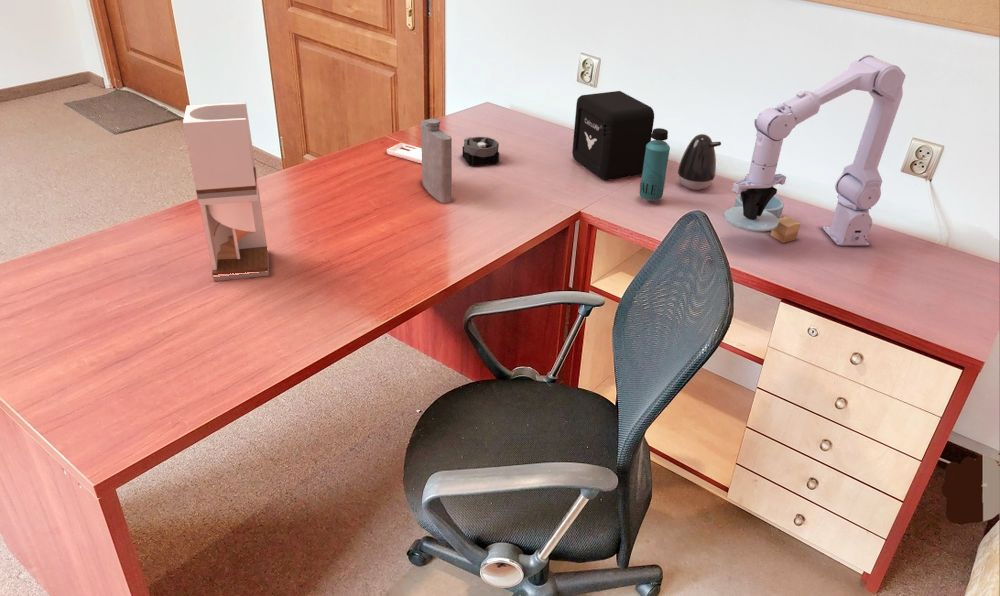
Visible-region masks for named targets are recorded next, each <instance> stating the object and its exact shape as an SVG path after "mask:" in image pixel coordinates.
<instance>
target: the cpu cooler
mask: <svg viewBox="0 0 1000 596" xmlns="http://www.w3.org/2000/svg"><path fill="white" fill-rule="evenodd" d="M499 145H500V143H499V141H497V140H496V139H494V138H491V137H488V136H473V137H472V136H469V137H467V138H464V139H463V146H462V158H463V159H464V161H465V162H466V163H467V165H468V166H472V167H477V166H478V167H479V166H480V167H481V166H487V165H489V166H490V165H497V164H499V163H500V152H499V147H500V146H499Z"/></svg>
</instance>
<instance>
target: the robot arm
mask: <svg viewBox="0 0 1000 596" xmlns="http://www.w3.org/2000/svg"><path fill="white" fill-rule="evenodd" d="M906 75H907V74H905V72H904V71H903V70H902V69H901V67H899V66H898V65H896V64H892V63H890V62H887V61H884V60H883V59H879V58H877V57H875V56H874V55H871V54H867V55H866V54H865V55H863V56H861V57H859V58H858V59H857V60H854V61H851V63H850V64H849V66H848V68H847V69H846V70H843V72H841V73H840V74H838V75H836V76H835V77H833V78H832V79H830V80H829V81H828V82H826V83H824V84H823V85H821V86H820V87H819V88H816V89H815V90H814V91H809V90H804V91H802V90H800V91H798V92H797V93H796V94H795V95H794V96H793V97H792V98H790V99H787V100H786V101H784V102H782V103H779V104H777V106H776V107H767V108H765V109H763V110H762V111H761V112H759V114H758V116H757V117H756V118H755V119H754V123H753V124H754V125H753V126H754V127H755V130H756V133H755V137H756V138H755V143H754V147H753V152H752V155H751V161H750V166H749V170H748V173H745V177H744V178H743V179H741V180H739V181H737V182H734V183H733V185H732V190H731V191H732V192H734V193H735V194H737V195H738V194H740V195H741V198H742V202H743V216H745V217H747V218H749V219H750V218H752V216H753V213H754V210H755V206H756V204H757V203H759V204H760V206H759V210H758V215H757V216H761V214H762V213H763V211H764V209H765V207H766V205H767V204H768V202H769V201H770V200H771V198H772V197H773V196H776V195H777V193H778V189H777V188H776V187H774V186H775V185H785V184H786V179H787V176H786V175H784V174H782V173H776V171H777V168H778V163H779V159H780V155H781V151H782V146H783V143H784V139H785V138H787V137H788V136H789V135H790V134H791V133H792V131H793V129H795V128H796V127H797V126H798V125H799V124H801V123H803V122H805V121H806V120H808V119H810V118H811V117H813V116H815V115H817V114H818V113H819V111H820V109H821V106H822V105H825V104H826V103H828V102H830V101H833V100H835V99H837V98H839V97H841V96H843V95H845V94H847V93H849V92H852V91H853V90H855V91H862V92H868V94H869V95H870V96H871V98H872V99H873V100H872V104H871V108H870V110H869V112H868V116H867V119H866V122H865V126H864V128H863V131H862V133H861V138H860V141H859V144H858V147H857V149H856V153H855V156H854V159H853V161H852V163H851V164H849V165H846V166H844V168H843V170H842V173H841V174H840V176H839V177H838V178H837V180H836V182H835V185H834V187H835V192H836V193H837V196H836V197H837V199H838V200H837V203H836V206H835V210H834V213H833V217H832V220H831V223H830V226H822V230H823V231H824V232H825V233H826V234H827V235H828V236H829V237H830V238H831V240H832V241H833V242H834V243H835V244H836V245H838V246H870V243H869V242H868V238H869V235H870V231H871V228H872V226H873V218H872V217H871V215H870V210H871V209H872V208H873V207H874V206H876V204H877V203H878V202H879V201H880V199H881V195H882V190H881V189H882V188H881V186H882V183H883V179H882V176H881V175H880V172H879V170H878V168H879V165H880V162H881V159H882V156H883V153H884V150H885V147H886V145H887V141H888V139H889V136H890V133H891V130H892V127H893V125H894V121H895V118H896V116H897V113H898V110H899V108H900V104H901V101H902V98H903V94H904V93H903V92H904V91H903V84H904V82H905V79H906Z"/></svg>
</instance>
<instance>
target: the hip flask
mask: <svg viewBox="0 0 1000 596" xmlns="http://www.w3.org/2000/svg"><path fill="white" fill-rule="evenodd" d="M440 125H441V120H440V119H438V118H427V119H422V120H421V121H420V139H421V140H420V148H421V149H422V164H421V183H422V185H423V188H424V189H425V190H426V191H427V192H428V193H429V195H430V196H432V197H433V198H434V199H435V200H437V201H438V202H440V203H442V204H449V203H451V202H452V201H453V187H452V186H453V184H452V183H453V175H452V174H453V172H452V170H453V165H452V164H453V163H452V159H453V154H452V153H453V152H452V151H453V149H452V146H453V145H452V143H453V142H452V136H451V135H449V134H447V133H445V132H444V131H443V130H441V129H440Z"/></svg>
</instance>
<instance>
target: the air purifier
mask: <svg viewBox="0 0 1000 596" xmlns="http://www.w3.org/2000/svg"><path fill="white" fill-rule="evenodd" d="M575 105H576V106H575V117H574V119H575V120H574V130H573V139H572V149H571V150H572V151H571V153H572V157H573V160H574V161H576V162H577V163H578V164H580V165H581V166H582V167H584V168H585V169H587V170H588V171H590V172H591V173H592V174H594V175H596V177H598V178H600V179H601V180H603V181H605V182H608V181H613V180H619V179H626V178H631V177H637V176H642V172H643V164H644V163H643V161H644V158H645V152H646V145H647V144H648V143H649V142H650V141H652V137H651V136H652V132H653V129H654V123H655V111H654V109H653V108H652V106H649V105H647V104H646V103H644V102H642V101H640V100H639V99H637V98H634V97H633V96H631V95H629V94H627V93H625V92H623V91H621V90H615V91H614V90H613V91H605V92H598V93H589V94H581V95H580V96H579V97H578V98H577V100H576V104H575Z"/></svg>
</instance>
